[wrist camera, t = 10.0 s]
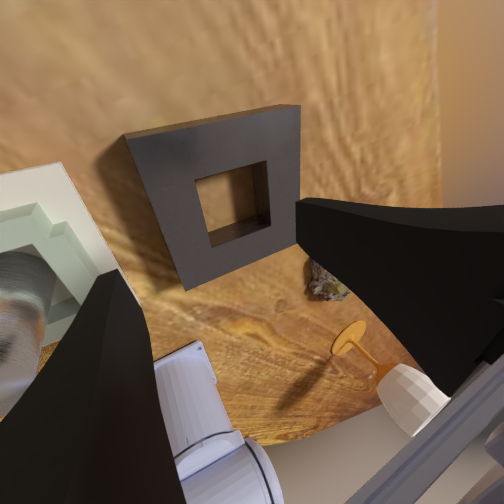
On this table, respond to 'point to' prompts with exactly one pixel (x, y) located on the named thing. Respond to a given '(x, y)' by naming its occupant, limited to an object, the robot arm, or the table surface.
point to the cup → (397, 385)
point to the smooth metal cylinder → (22, 321)
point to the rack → (54, 237)
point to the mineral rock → (326, 284)
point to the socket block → (216, 161)
